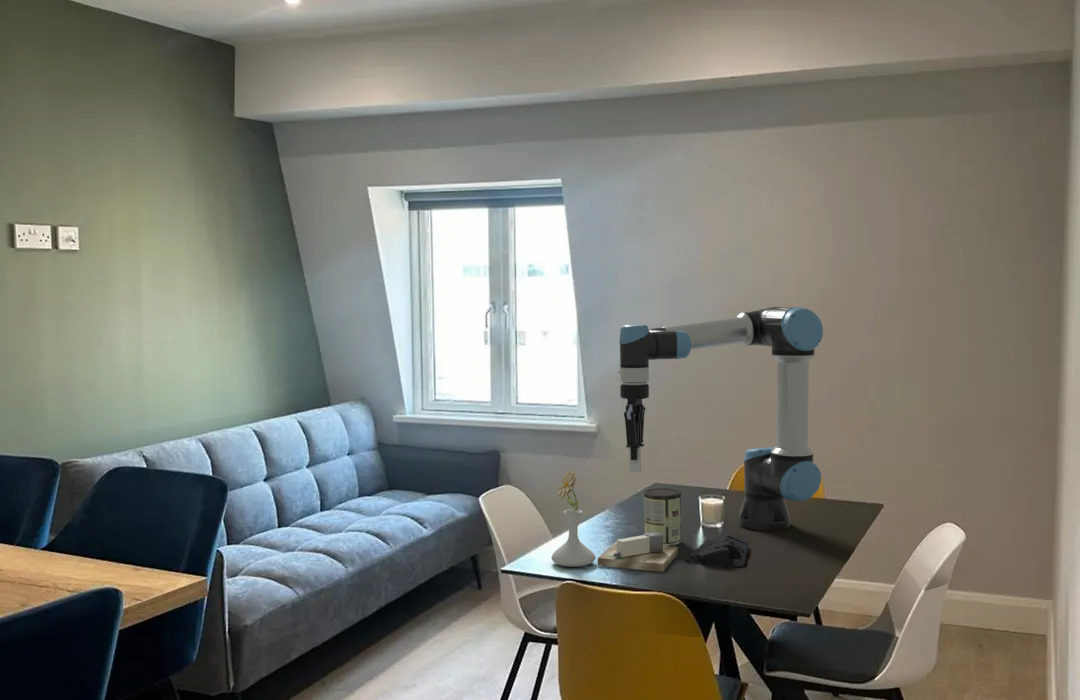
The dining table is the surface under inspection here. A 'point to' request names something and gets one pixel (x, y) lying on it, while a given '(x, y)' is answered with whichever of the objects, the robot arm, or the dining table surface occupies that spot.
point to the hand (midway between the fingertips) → (635, 471)
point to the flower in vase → (572, 530)
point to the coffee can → (663, 514)
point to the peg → (639, 545)
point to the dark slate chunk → (721, 552)
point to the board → (639, 559)
